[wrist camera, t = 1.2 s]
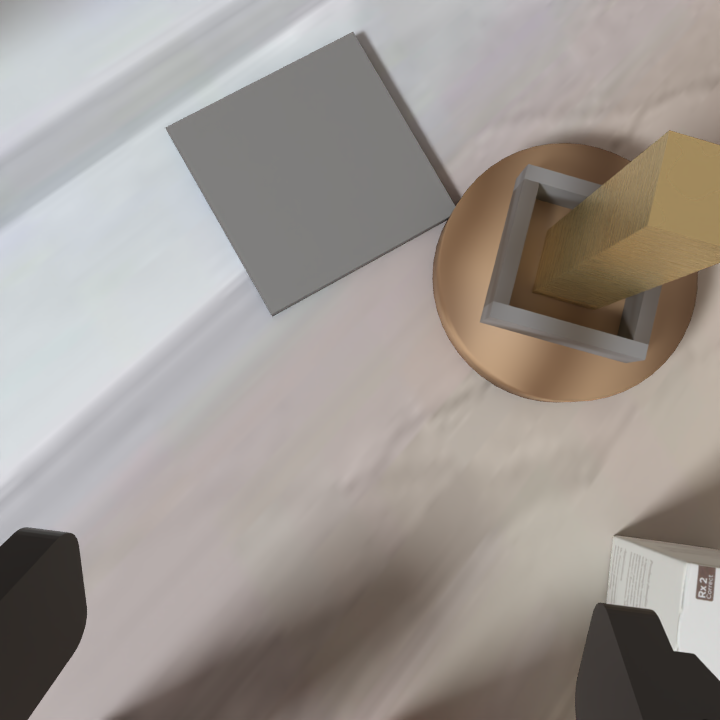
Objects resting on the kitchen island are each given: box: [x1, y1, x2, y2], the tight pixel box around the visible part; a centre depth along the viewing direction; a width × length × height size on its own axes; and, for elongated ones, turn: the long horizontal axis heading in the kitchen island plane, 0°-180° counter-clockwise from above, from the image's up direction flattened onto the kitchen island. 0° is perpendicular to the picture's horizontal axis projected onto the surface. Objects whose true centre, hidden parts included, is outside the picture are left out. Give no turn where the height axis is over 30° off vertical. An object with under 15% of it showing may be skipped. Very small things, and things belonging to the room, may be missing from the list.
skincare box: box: [606, 535, 720, 681], centre depth 31 cm, size 6×6×7 cm
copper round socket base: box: [433, 143, 698, 402], centre depth 34 cm, size 14×14×4 cm
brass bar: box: [532, 130, 720, 310], centre depth 28 cm, size 4×4×12 cm
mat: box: [166, 32, 456, 316], centre depth 36 cm, size 12×12×1 cm
